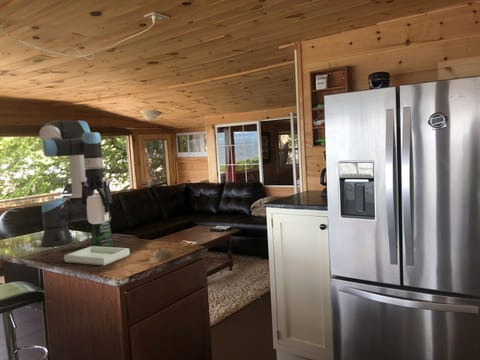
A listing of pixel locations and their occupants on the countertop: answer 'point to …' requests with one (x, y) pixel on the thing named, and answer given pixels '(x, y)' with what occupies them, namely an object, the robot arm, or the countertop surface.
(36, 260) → the countertop surface
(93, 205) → the beverage can
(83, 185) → the robot arm
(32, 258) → the countertop surface
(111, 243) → the coffee jar
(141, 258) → the countertop surface
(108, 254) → the tray
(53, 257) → the countertop surface
